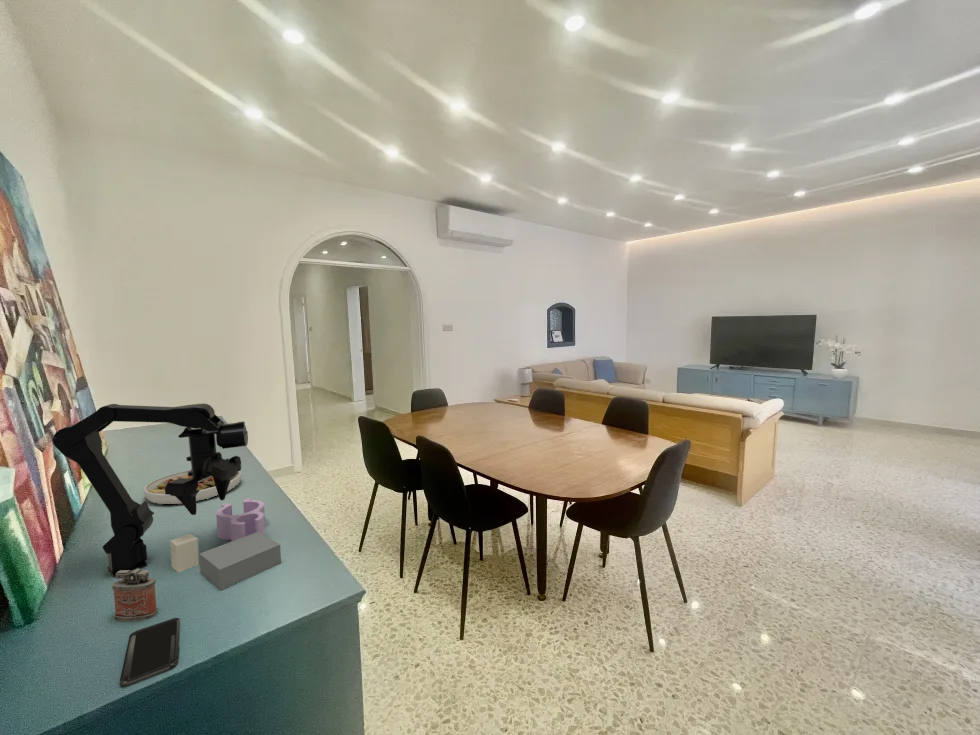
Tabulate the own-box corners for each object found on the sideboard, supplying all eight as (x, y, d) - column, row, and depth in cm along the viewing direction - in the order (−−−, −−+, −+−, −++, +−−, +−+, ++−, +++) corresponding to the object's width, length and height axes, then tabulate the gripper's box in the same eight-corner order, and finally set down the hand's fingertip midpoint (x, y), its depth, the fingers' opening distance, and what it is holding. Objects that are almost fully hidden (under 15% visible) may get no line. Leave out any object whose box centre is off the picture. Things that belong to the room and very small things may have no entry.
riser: (220, 590, 93) (219, 569, 93) (200, 572, 100) (199, 553, 100) (280, 562, 104) (280, 544, 104) (259, 548, 111) (258, 531, 111)
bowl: (241, 497, 149) (240, 476, 148) (135, 515, 133) (134, 492, 132) (241, 474, 174) (240, 456, 173) (152, 487, 158) (151, 468, 157)
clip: (275, 538, 118) (274, 515, 117) (225, 553, 109) (224, 529, 109) (258, 516, 132) (257, 495, 132) (213, 528, 124) (212, 506, 124)
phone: (118, 685, 67) (130, 632, 79) (119, 692, 67) (130, 637, 79) (178, 662, 71) (180, 615, 83) (178, 668, 71) (180, 620, 83)
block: (177, 572, 100) (176, 545, 100) (171, 566, 103) (170, 540, 102) (198, 564, 104) (197, 538, 103) (192, 558, 106) (191, 533, 106)
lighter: (162, 609, 86) (159, 565, 86) (149, 620, 83) (146, 574, 82) (123, 610, 86) (120, 566, 85) (109, 621, 83) (106, 575, 82)
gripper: (199, 462, 97) (205, 524, 98) (255, 441, 115) (259, 494, 116) (159, 462, 98) (166, 522, 100) (221, 441, 117) (226, 493, 118)
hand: (208, 507), depth 108 cm, fingers open, 9 cm apart
